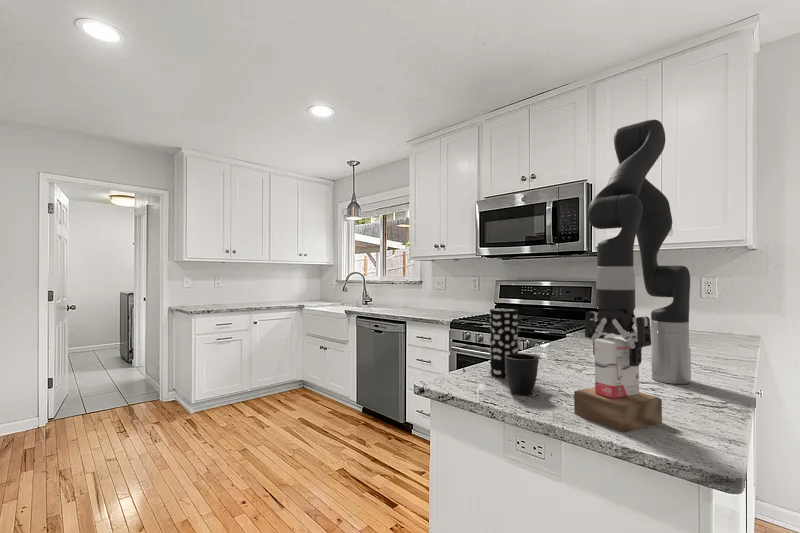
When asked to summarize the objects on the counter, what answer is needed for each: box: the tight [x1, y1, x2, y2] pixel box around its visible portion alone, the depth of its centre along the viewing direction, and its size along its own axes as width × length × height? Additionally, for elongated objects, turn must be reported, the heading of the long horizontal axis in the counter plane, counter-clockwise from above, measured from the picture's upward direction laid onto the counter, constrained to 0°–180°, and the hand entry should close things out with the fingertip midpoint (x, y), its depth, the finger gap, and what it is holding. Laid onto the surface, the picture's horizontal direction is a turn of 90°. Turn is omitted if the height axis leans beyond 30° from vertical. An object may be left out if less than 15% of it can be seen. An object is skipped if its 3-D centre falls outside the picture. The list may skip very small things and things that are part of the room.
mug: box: [505, 353, 539, 397], centre depth 110 cm, size 8×12×10 cm
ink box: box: [594, 336, 640, 399], centre depth 90 cm, size 9×5×12 cm, turn 116°
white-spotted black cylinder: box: [489, 308, 519, 380], centre depth 127 cm, size 8×8×20 cm
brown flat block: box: [573, 386, 663, 433], centre depth 90 cm, size 12×12×5 cm
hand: (616, 362), depth 90 cm, fingers open, 8 cm apart
